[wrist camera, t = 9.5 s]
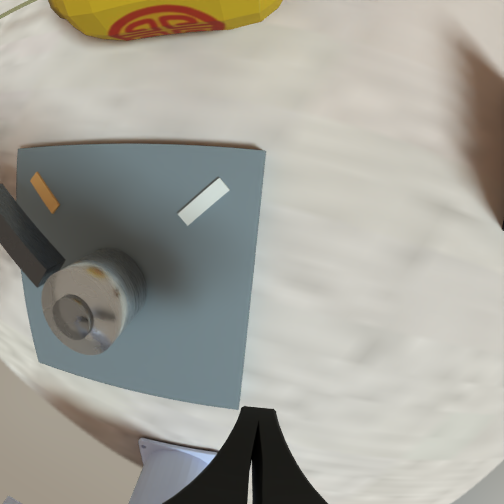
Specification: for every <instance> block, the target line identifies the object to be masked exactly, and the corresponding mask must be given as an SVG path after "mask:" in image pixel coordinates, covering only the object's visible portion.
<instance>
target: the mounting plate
mask: <svg viewBox="0 0 504 504" xmlns="http://www.w3.org/2000/svg"><path fill="white" fill-rule="evenodd" d="M265 155H266V151H263V150H252V149H241V148H229V147H214V146H197V145H174V144H84V145H63V146H47V147H34V148H22V149H18V155H17V182H16V202H17V204H18V205H19V206H20V207H21V209H22V210H23V211H24V212H25V213H26V215H27V216H28V217H29V218H30V220H31V221H32V222H33V223H34V224H35V225H36V227H37V228H38V229H39V230H40V231H41V232H42V234H43V235H44V236H45V237H46V238H47V239H48V240H49V242H50V243H51V244H52V245H53V246H54V247H55V248H56V249H57V251H58V252H59V253H60V254H61V255H62V256H63V257H64V258H65V259H66V260H65V262H64V264H63V266H62V267H61V269H63V268H65V267H66V266H68V265H70V264H72V263H74V262H76V261H77V260H79V259H81V258H83V257H85V256H87V255H89V254H90V253H92V252H94V251H96V250H99V249H102V248H113V249H117V250H120V251H122V252H124V253H125V254H127V255H128V256H130V257H131V258H132V259H133V260H134V261H135V262H136V264H137V265H138V266H139V268H140V269H141V271H142V273H143V275H144V278H145V281H146V287H147V296H146V301H145V304H144V306H143V308H142V309H141V311H140V312H139V313H138V314H137V315H136V317H135V318H134V319H133V320H132V321H131V322H130V323H129V325H128V326H127V327H126V328H125V329H124V331H123V332H122V333H121V334H120V335H119V336H118V338H117V339H116V340H115V341H114V342H113V343H112V345H111V346H110V347H109V348H108V349H107V350H106V351H104V352H103V353H101V354H97V355H84V354H81V353H78V352H75V351H73V350H72V349H70V348H68V347H67V346H66V345H64V344H63V343H62V342H61V341H60V340H59V339H58V338H57V337H56V336H55V334H54V333H53V332H52V330H51V329H50V327H49V325H48V323H47V321H46V319H45V316H44V313H43V309H42V302H41V296H42V290H43V286H44V284H43V285H41V286H40V287H38V288H37V287H36V286H35V285H34V284H33V283H32V282H31V280H30V279H29V278H28V277H27V276H26V275H25V273H24V272H23V271H22V270H21V274H22V281H23V288H24V295H25V301H26V307H27V312H28V317H29V323H30V327H31V332H32V337H33V341H34V345H35V349H36V353H37V357H38V361H39V362H40V363H43V364H45V365H48V366H51V367H54V368H57V369H60V370H63V371H66V372H69V373H72V374H75V375H78V376H81V377H84V378H88V379H91V380H94V381H98V382H101V383H105V384H109V385H112V386H116V387H120V388H124V389H128V390H132V391H136V392H140V393H144V394H149V395H153V396H158V397H163V398H168V399H173V400H178V401H183V402H189V403H195V404H201V405H207V406H214V407H221V408H228V409H236V410H238V409H239V402H240V394H241V384H242V375H243V366H244V356H245V347H246V338H247V328H248V319H249V310H250V300H251V291H252V281H253V272H254V262H255V252H256V243H257V233H258V224H259V214H260V204H261V194H262V185H263V175H264V165H265ZM61 269H60V270H61Z"/></svg>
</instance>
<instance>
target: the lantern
mask: <svg viewBox="0 0 504 504" xmlns="http://www.w3.org/2000/svg"><path fill="white" fill-rule="evenodd" d="M34 1H37V0H28V1H26V2H24V3H22V4H20V5H18V6H16V7H14V8H13V9H11V10H9V11H7V12H5V13H3V14H1V15H0V19H1V18H3V17H5V16H6V15H8V14H10V13H12V12H14V11H16V10H18V9H20V8H22V7H24V6H26V5H28V4H30V3H32V2H34ZM48 1H49V4H50V6H51V9H52V10H53V11H54V12H55V13H56V14H57V15H58V16H59V17H60V18H63V19H67V20H68V21H69V23H70V24H71V25H72V26H73V27H75V28H76V29H78V30H79V31H81V32H82V33H84V34H85V35H88V36H93V37H97V38H102V39H113V40H126V41H129V40H134V39H140V38H146V37H153V36H160V35H167V34H176V33H185V32H196V31H210V30H230V29H234V28H238V27H242V26H246V25H249V24H254V23H258V22H261V21H263V20H264V19H265V18H266V17H267V16H269V15H270V14H271V13H272V12H274V11H275V10H276V9H277V8H279V6H280V4H281V2H282V0H48Z"/></svg>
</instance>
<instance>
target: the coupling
mask: <svg viewBox="0 0 504 504" xmlns="http://www.w3.org/2000/svg"><path fill="white" fill-rule="evenodd" d="M0 243H1V245H2V246H3V247H4V249H5V250H6V251H7V253H8V254H9V255H10V256H11V258H12V259H13V260H14V261H15V263H16V264H17V265H18V266H19V267H20V269H21V270H22V271H23V272H24V273H25V275H26V276H27V277H28V278H29V279H30V280H31V282H32V283H33V284H34V285H35V286H36V287H37V288H38V287H40V286H41V285H43V284H44V286H43V290H42V296H41V302H42V309H43V313H44V316H45V319H46V321H47V323H48V325H49V327H50V329H51V330H52V332H53V333H54V334H55V336H56V337H57V338H58V339H59V340H60V341H61V342H62V343H63V344H64V345H66V346H67V347H68V348H70V349H72V350H73V351H75V352H78V353H81V354H84V355H97V354H101V353H103V352H104V351H106V350H107V349H108V348H109V347H110V346H111V345H112V343H113V342H114V341H115V340H116V339H117V338H118V336H119V335H120V334H121V333H122V332H123V331H124V329H125V328H126V327H127V326H128V325H129V323H130V322H131V321H132V320H133V319H134V318H135V317H136V315H137V314H138V313H139V312H140V311H141V309H142V308H143V306H144V304H145V301H146V296H147V287H146V281H145V278H144V275H143V273H142V271H141V269H140V268H139V266H138V265H137V264H136V262H135V261H134V260H133V259H132V258H131V257H130V256H128V255H127V254H125V253H124V252H122V251H120V250H117V249H113V248H102V249H99V250H96V251H94V252H92V253H90V254H89V255H87V256H85V257H83V258H81V259H79V260H77V261H76V262H74V263H72V264H70V265H68V266H66V267H65V268H63V269H61V267H62V266H63V264H64V262H65V260H66V259H65V258H64V257H63V256H62V255H61V254H60V253H59V252H58V251H57V249H56V248H55V247H54V246H53V245H52V244H51V243H50V242H49V240H48V239H47V238H46V237H45V236H44V235H43V234H42V232H41V231H40V230H39V229H38V228H37V227H36V225H35V224H34V223H33V222H32V221H31V220H30V218H29V217H28V216H27V215H26V213H25V212H24V211H23V210H22V209H21V207H20V206H19V205H18V204H17V202H16V201H15V200H14V199H13V197H12V196H11V195H10V193H9V192H8V191H7V189H6V188H5V187H4V185H3V184H0ZM60 269H61V270H60Z"/></svg>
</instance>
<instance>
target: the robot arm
mask: <svg viewBox="0 0 504 504" xmlns="http://www.w3.org/2000/svg"><path fill="white" fill-rule="evenodd" d="M138 443H139V448H140V453H141V457H142V461H143V469H142V471H141V474H140V476H139V479H138V481H137V484H136V486H135V489H134V491H133V494H132V496H131V499H130V501H129V504H247V498H248V483H249V470H250V465H251V461H252V491H253V504H328V503H327V502H326V501H325V500H324V499H323V498H322V497H321V496H320V494H319V493H318V492H317V491H316V490H315V489H314V488H313V486H312V485H311V484H310V482H309V481H308V480H307V478H306V477H305V475H304V474H303V473H302V471H301V469H300V468H299V466H298V465H297V463H296V461H295V459H294V457H293V456H292V454H291V452H290V450H289V448H288V445H287V443H286V441H285V439H284V436H283V434H282V431H281V428H280V426H279V422H278V419H277V415H276V411H275V410H274V409H267V408H257V407H247V406H244V407H242V408H241V411H240V414H239V417H238V420H237V422H236V424H235V426H234V428H233V430H232V432H231V433H230V435H229V437H228V439H227V440H226V442H225V443H224V445H223V446H222V448H221V449H220V450H219V452H218V453H217V452H210V451H204V450H198V449H192V448H187V447H182V446H177V445H172V444H167V443H163V442H158V441H154V440H150V439H146V438H140V439H139V441H138ZM3 504H21V503H20V502H18V501H17V500H15V499H13V498H12V497H10V496H7V498H6V499H5V501H4V502H3Z"/></svg>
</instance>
